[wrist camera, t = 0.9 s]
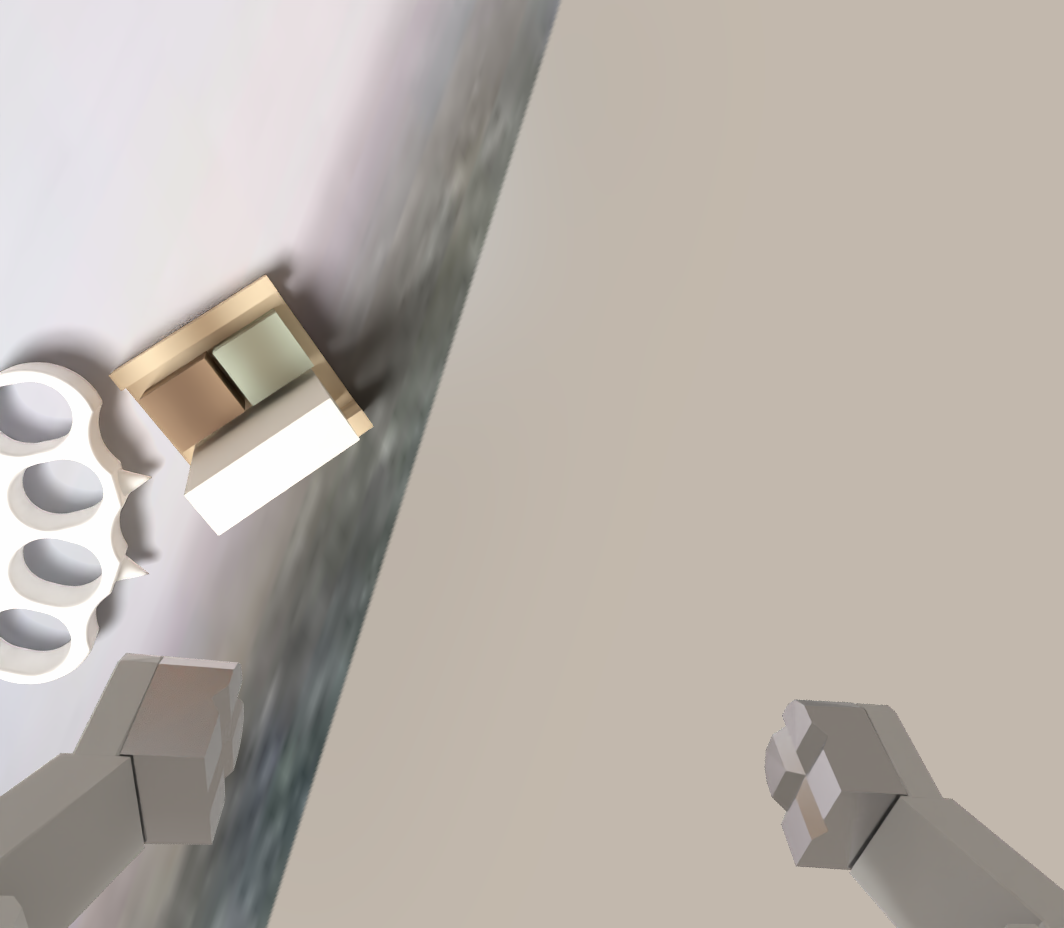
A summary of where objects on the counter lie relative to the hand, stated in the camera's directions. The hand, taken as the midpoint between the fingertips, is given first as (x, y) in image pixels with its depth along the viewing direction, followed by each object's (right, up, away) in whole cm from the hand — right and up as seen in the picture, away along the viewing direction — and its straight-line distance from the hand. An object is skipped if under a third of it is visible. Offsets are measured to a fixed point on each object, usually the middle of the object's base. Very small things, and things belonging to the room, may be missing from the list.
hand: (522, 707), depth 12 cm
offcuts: (-17, +9, +35) cm, 40 cm away
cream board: (-16, +6, +36) cm, 40 cm away
